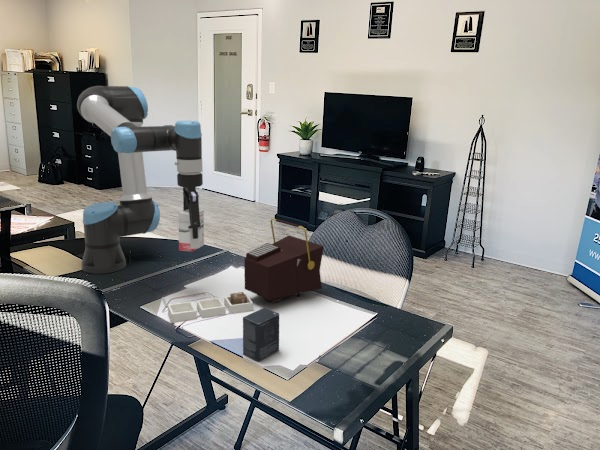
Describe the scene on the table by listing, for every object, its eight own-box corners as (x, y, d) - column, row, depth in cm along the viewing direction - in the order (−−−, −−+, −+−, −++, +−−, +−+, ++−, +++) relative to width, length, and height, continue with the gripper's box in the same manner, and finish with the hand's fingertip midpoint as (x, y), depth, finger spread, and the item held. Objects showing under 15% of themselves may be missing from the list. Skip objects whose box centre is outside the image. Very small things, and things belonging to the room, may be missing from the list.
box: (263, 343, 132) (264, 306, 130) (279, 351, 129) (280, 313, 126) (242, 354, 126) (242, 316, 124) (258, 362, 123) (258, 323, 120)
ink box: (193, 252, 152) (192, 213, 150) (178, 250, 153) (176, 212, 151) (205, 245, 160) (204, 208, 158) (190, 244, 161) (189, 208, 159)
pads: (162, 298, 158) (162, 297, 158) (235, 288, 167) (235, 288, 167) (165, 307, 152) (165, 306, 152) (241, 296, 161) (241, 295, 161)
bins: (168, 313, 147) (167, 304, 147) (246, 302, 157) (246, 294, 156) (172, 324, 141) (171, 314, 140) (253, 312, 151) (253, 302, 150)
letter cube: (230, 305, 153) (230, 293, 152) (242, 303, 155) (242, 291, 154) (234, 311, 149) (234, 298, 148) (246, 309, 151) (246, 296, 150)
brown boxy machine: (324, 294, 165) (328, 221, 158) (274, 315, 148) (276, 235, 142) (289, 281, 176) (291, 212, 169) (238, 299, 159) (238, 223, 153)
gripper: (172, 168, 160) (175, 235, 165) (182, 178, 140) (185, 255, 145) (195, 167, 162) (198, 233, 168) (209, 177, 142) (211, 252, 148)
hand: (192, 243), depth 157 cm, fingers closed on ink box, 9 cm apart
